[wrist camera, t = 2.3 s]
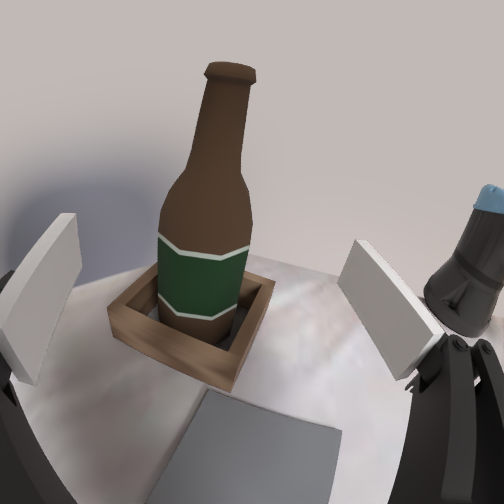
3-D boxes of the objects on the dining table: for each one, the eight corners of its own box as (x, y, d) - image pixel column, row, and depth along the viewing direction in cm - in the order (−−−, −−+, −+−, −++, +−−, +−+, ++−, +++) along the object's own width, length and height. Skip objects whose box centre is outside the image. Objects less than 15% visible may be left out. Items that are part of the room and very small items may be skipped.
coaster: (339, 433, 19) (342, 430, 19) (309, 555, 9) (312, 555, 9) (208, 392, 21) (208, 389, 21) (144, 507, 11) (143, 507, 11)
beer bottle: (182, 289, 32) (210, 68, 20) (243, 315, 30) (298, 80, 18) (144, 330, 25) (153, 55, 13) (213, 365, 24) (271, 60, 12)
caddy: (267, 308, 32) (275, 281, 30) (230, 392, 22) (237, 368, 20) (174, 273, 34) (175, 246, 32) (113, 336, 24) (106, 307, 22)
